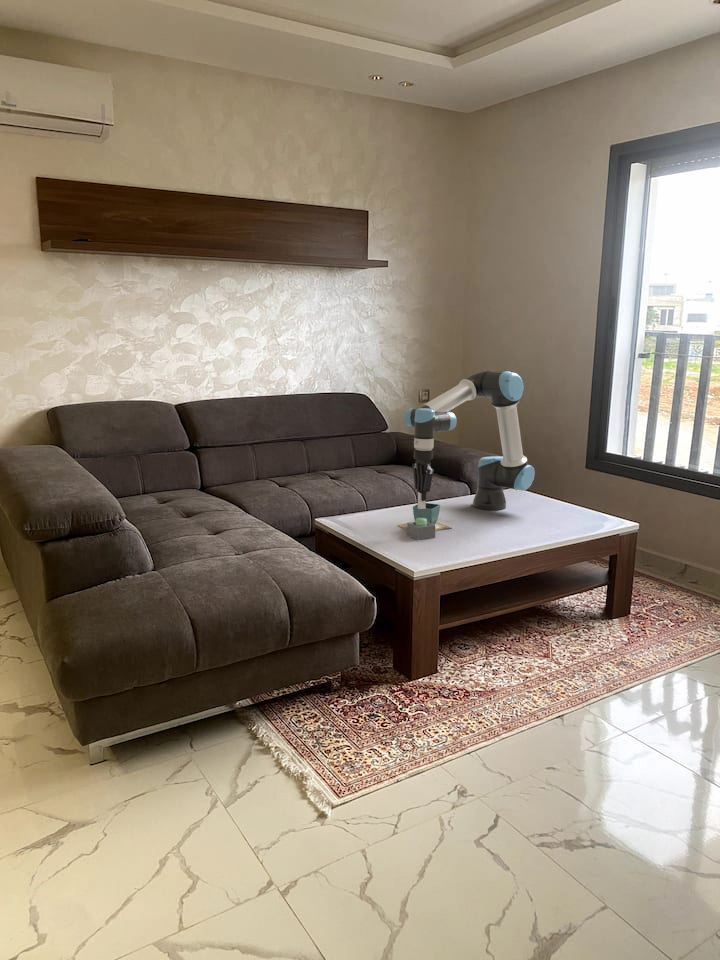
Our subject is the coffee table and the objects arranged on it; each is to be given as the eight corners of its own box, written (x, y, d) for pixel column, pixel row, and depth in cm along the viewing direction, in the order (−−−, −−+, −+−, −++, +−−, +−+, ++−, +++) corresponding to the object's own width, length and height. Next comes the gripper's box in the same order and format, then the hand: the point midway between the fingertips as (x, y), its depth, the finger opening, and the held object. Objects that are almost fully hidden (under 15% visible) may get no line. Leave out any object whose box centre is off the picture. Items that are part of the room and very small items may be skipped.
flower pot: (411, 527, 306) (412, 506, 304) (420, 522, 314) (421, 501, 312) (431, 530, 302) (432, 509, 300) (439, 525, 310) (440, 504, 308)
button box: (424, 532, 302) (424, 520, 301) (434, 537, 295) (435, 525, 294) (407, 534, 299) (407, 522, 298) (417, 540, 292) (417, 527, 291)
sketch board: (434, 521, 319) (434, 519, 319) (451, 528, 308) (451, 527, 308) (397, 525, 311) (397, 524, 311) (413, 533, 300) (413, 532, 300)
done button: (423, 528, 299) (423, 517, 298) (428, 531, 296) (429, 519, 295) (413, 530, 298) (413, 518, 297) (419, 532, 294) (419, 521, 293)
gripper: (406, 446, 294) (405, 505, 299) (424, 452, 282) (421, 513, 287) (423, 445, 297) (421, 503, 302) (441, 451, 286) (438, 511, 290)
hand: (421, 508), depth 295 cm, fingers closed
